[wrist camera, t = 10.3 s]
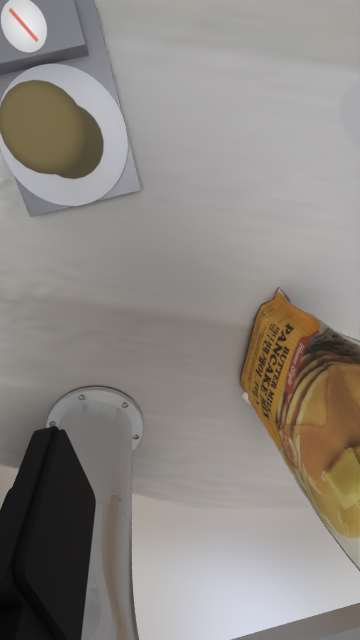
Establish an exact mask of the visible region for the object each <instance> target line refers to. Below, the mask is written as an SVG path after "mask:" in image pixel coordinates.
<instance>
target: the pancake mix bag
mask: <svg viewBox="0 0 360 640" xmlns="http://www.w3.org/2000/svg"><path fill="white" fill-rule="evenodd" d="M240 385H241V387H242V388H243V389H244V390H245V391H246V393H247V394H248V400H249V401H250V402H251V404H252V405H253V407H254V408H255V410H256V412H257V414H258V416H259V418H260V420H261V422H262V423H263V425H264V427H265V429H266V430H267V432H268V434H269V436H270V437H271V439H272V440H273V442H274V443H275V445H276V447H277V448H278V450H279V452H280V454H281V456H282V458H283V459H284V461H285V463H286V465H287V466H288V468H289V470H290V471H291V473H292V475H293V477H294V478H295V480H296V482H297V484H298V486H299V487H300V489H301V490H302V492H303V493H304V494H305V496H306V497H307V499H308V500H309V502H310V503H311V505H312V507H313V508H314V510H315V512H316V513H317V515H318V516H319V518H320V519H321V521H322V522H323V524H324V525H325V527H326V528H327V529H328V531H329V532H330V534H331V535H332V536H333V538H334V539H335V540H336V542H337V543H338V544H339V545H340V547H341V548H342V550H343V551H344V552H345V554H346V555H347V556H348V558H349V559H350V560H351V561H352V562H353V564H354V565H355V566H356V567H357V568H358V570H359V571H360V341H358V340H356V339H353V338H351V337H348V336H345V335H343V334H341V333H338V332H336V331H334V330H333V329H331V328H330V327H329V326H327V325H326V324H324V323H323V322H322V321H320V320H319V319H317V318H316V317H315V316H313V315H312V314H309V313H306V312H303V311H302V310H300V309H298V308H296V307H295V306H293V305H292V304H291V303H290V300H289V298H288V297H287V296H286V295H285V294H284V293H283V291H282V290H281V289H280V288H278V290H277V292H276V294H275V297H274V299H272V300H270V301H268V302H266V303H264V304H262V305H261V308H260V310H259V312H258V314H257V316H256V320H255V324H254V328H253V332H252V336H251V340H250V344H249V348H248V352H247V357H246V360H245V363H244V367H243V371H242V375H241V382H240Z"/></svg>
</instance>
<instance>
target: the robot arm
mask: <svg viewBox="0 0 360 640" xmlns="http://www.w3.org/2000/svg"><path fill="white" fill-rule="evenodd" d="M142 434H143V417H142V414H141V411H140V409H139V408H138V406H137V405H136V403H135V402H134V401H133V400H132V399H131V398H129V397H128V396H127V395H125V394H124V393H121V392H119V391H117V390H114V389H110V388H107V387H86V388H81V389H77V390H75V391H72V392H70V393H68V394H66V395H65V396H63V397H62V398H61V399H60V400H59V401H57V402H56V403H55V405H54V406H53V408H52V409H51V411H50V414H49V416H48V419H47V422H46V428H44V429H40V430H37V431H35V432H34V433H33V435H32V437H31V440H30V443H29V445H28V448H27V450H26V453H25V456H24V458H23V461H22V464H21V466H20V469H19V471H18V475H17V477H16V479H15V482H14V484H13V487H12V488H11V489H9V491H8V493H7V495H6V497H5V499H4V502H3V505H2V507H1V510H0V640H139V635H138V629H137V623H136V616H135V607H134V597H133V583H132V452H133V451H134V449H135V448H136V447H137V446H138V444H139V442H140V440H141V438H142ZM232 640H360V603H357V604H354V605H350V606H347V607H344V608H340V609H336V610H333V611H329V612H326V613H322V614H319V615H315V616H312V617H308V618H305V619H301V620H298V621H294V622H291V623H287V624H284V625H280V626H277V627H273V628H270V629H266V630H263V631H259V632H256V633H253V634H249V635H246V636H242V637H239V638H235V639H232Z"/></svg>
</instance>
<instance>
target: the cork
mask: <svg viewBox="0 0 360 640" xmlns="http://www.w3.org/2000/svg"><path fill="white" fill-rule="evenodd" d="M0 133H1V136H2V138H3V141H4V144H5V145H6V147H7V148H8V150H9V151H10V152H11V154H12V155H13V157H14V158H15V159H16V160H18V161H19V162H20V163H21V164H22V165H24V166H25V167H26V168H28V169H31V170H33V171H35V172H37V173H42V174H51V175H53V174H56V175H59V176H61V177H63V178H69V179H78V178H82V177H85V176H87V175H89V174H90V173H92V172H93V171H94V170H95V169H96V167H97V166H98V165H99V163H100V161H101V158H102V155H103V151H104V140H103V136H102V132H101V129H100V127H99V125H98V123H97V122H96V120H95V118H94V117H93V116H92V115H91V114H90V113H89V112H88V111H87V110H86V109H84V108H82V107H80V106H78V105H77V104H76V102H75V101H74V99H73V98H72V97H71V96H70V95H69V94H67V93H66V92H65V91H64V90H63V89H62V88H60V87H58V86H56V85H54V84H52V83H50V82H48V81H41V80H30V81H25V82H21V83H18V84H17V85H15V86H14V87H13V88H11V89H10V90H8V92H7V94H6V95H5V97H4V98H3V100H2V101H1V105H0Z"/></svg>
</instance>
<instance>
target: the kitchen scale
mask: <svg viewBox="0 0 360 640" xmlns="http://www.w3.org/2000/svg"><path fill="white" fill-rule="evenodd" d="M30 80H41V81H48V82H50V83H52V84H54V85H56V86H58V87H60V88H62V89H63V90H64V91H65V92H66V93H67V94H69V95H70V96H71V97H72V98H73V99H74V101H75V102H76V104H77V105H78V106H80V107H82V108H84V109H86V110H87V111H88V112H89V113H90V114H91V115H92V116H93V117H94V118H95V120H96V122H97V123H98V125H99V127H100V129H101V132H102V136H103V140H104V151H103V155H102V158H101V161H100V163H99V165H98V166H97V167H96V169H95V170H94V171H93V172H92V173H90V174H89V175H87V176H85V177H82V178H78V179H69V178H63V177H61V176H59V175H56V174H53V175H51V174H42V173H37V172H35V171H33V170H31V169H28V168H26V167H25V166H24V165H22V164H21V163H20V162H19V161H18V160H16V159H15V158H14V157H13V155H12V154H11V152H10V151H9V150H8V148H7V147H6V145H5V144H4V141H3V138H2V136H1V133H0V149H1V152H2V155H3V157H4V159H5V161H6V163H7V165H8V167H9V168H10V170H11V172H12V173H13V174H14V176H15V179H16V182H17V184H18V187H19V189H20V192H21V194H22V197H23V200H24V202H25V205H26V207H27V210H28V213H29V215H30V217H32V216H36V215H40V214H45V213H49V212H53V211H57V210H61V209H65V208H70V207H74V206H78V205H84V204H87V203H91V202H94V201H99V200H103V199H107V198H111V197H115V196H119V195H123V194H128V193H132V192H136V191H140V190H141V187H140V183H139V179H138V175H137V171H136V167H135V163H134V159H133V155H132V151H131V147H130V143H129V139H128V135H127V131H126V126H125V123H124V119H123V115H122V111H121V107H120V103H119V99H118V95H117V91H116V87H115V82H114V78H113V74H112V70H111V66H110V62H109V58H108V54H107V50H106V46H105V42H104V38H103V34H102V30H101V26H100V22H99V18H98V14H97V10H96V6H95V2H94V0H0V105H1V101H2V100H3V98H4V97H5V95H6V94H7V92H8V90H10V89H11V88H13V87H14V86H15V85H17V84H18V83H21V82H25V81H30Z"/></svg>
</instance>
